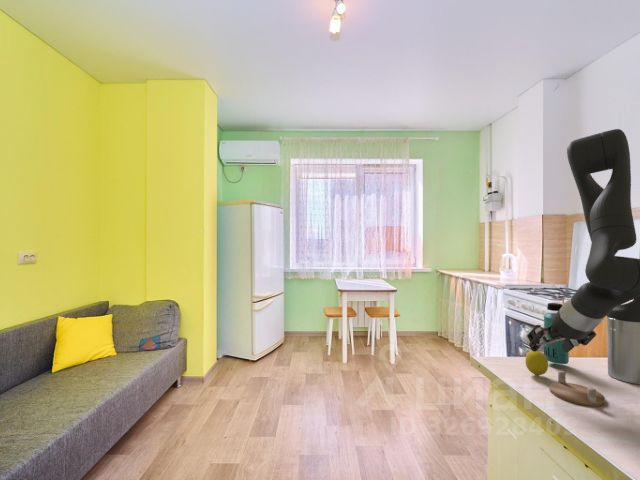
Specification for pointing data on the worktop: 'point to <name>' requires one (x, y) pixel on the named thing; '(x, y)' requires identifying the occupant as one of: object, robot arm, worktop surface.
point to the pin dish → (576, 392)
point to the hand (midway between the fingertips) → (548, 348)
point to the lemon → (536, 362)
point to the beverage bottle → (555, 349)
